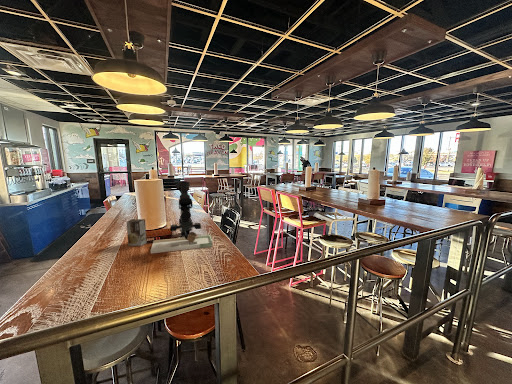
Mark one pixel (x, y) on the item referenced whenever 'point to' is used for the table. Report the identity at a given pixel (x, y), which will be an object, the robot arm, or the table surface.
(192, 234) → the block
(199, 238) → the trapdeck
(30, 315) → the table surface
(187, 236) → the robot arm
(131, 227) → the coffee box
